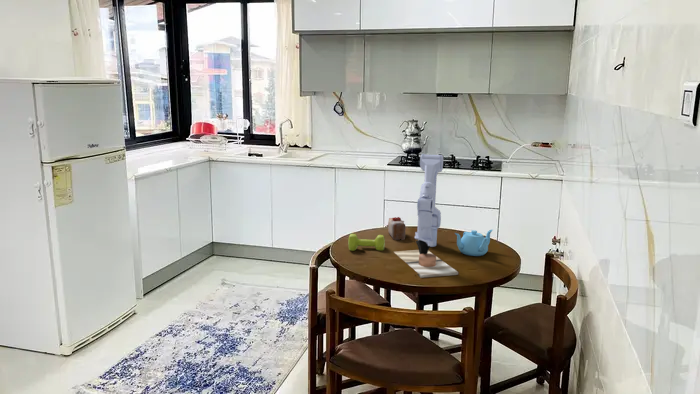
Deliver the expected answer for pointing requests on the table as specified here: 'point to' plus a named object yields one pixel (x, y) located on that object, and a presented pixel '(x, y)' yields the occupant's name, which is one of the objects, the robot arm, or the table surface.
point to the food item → (396, 228)
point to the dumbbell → (366, 242)
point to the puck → (427, 260)
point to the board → (437, 270)
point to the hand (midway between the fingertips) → (423, 257)
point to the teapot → (473, 243)
